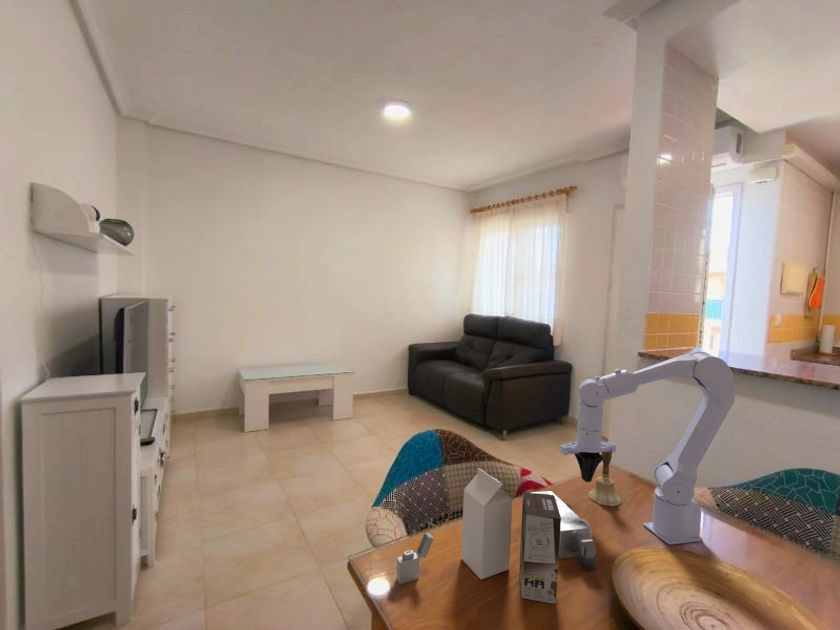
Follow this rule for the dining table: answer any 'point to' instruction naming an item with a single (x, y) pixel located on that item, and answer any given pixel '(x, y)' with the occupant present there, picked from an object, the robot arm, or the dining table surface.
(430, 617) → the dining table surface
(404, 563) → the lighter
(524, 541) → the coffee box
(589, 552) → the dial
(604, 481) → the hand bell
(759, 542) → the dining table surface
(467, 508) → the milk carton
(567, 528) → the mount
